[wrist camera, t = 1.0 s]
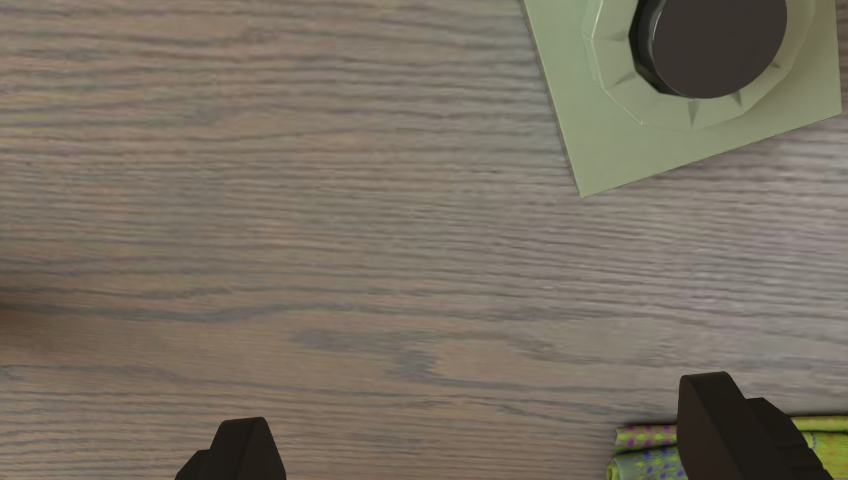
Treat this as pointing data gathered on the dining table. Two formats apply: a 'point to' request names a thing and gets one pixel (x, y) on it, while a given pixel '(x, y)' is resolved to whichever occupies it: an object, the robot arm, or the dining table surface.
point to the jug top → (668, 91)
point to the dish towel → (661, 466)
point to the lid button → (709, 43)
